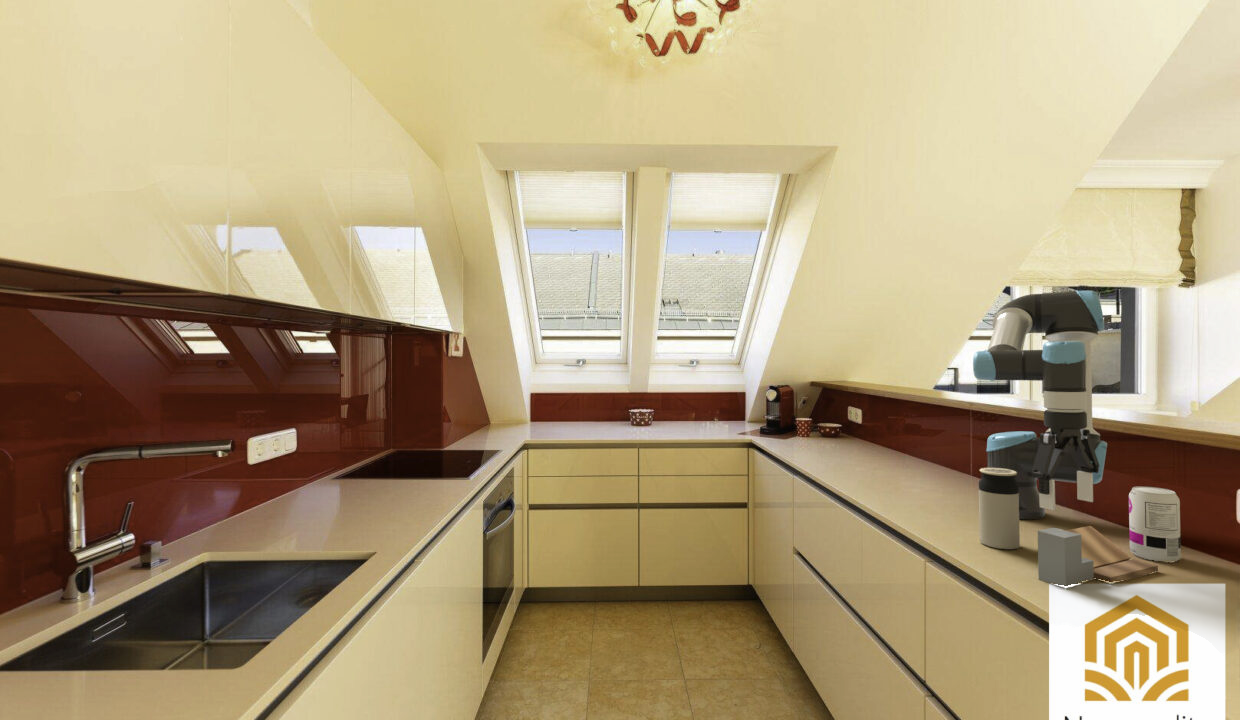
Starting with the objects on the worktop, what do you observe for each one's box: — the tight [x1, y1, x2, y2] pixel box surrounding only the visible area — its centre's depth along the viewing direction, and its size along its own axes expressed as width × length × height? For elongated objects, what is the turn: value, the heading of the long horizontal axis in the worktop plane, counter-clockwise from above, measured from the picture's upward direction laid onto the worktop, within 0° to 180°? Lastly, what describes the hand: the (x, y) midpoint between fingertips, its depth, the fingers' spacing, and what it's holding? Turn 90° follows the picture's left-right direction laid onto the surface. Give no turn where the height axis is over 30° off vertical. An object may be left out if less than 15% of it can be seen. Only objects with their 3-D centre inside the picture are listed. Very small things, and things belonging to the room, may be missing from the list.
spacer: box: [1037, 527, 1095, 586], centre depth 111 cm, size 10×5×10 cm, turn 110°
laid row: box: [1094, 558, 1159, 582], centre depth 114 cm, size 16×5×1 cm, turn 111°
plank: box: [1065, 525, 1132, 569], centre depth 120 cm, size 16×9×1 cm
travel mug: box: [978, 467, 1021, 551], centre depth 133 cm, size 8×8×18 cm
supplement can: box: [1128, 486, 1182, 563], centre depth 123 cm, size 8×8×15 cm
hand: (1066, 504), depth 123 cm, fingers open, 13 cm apart
